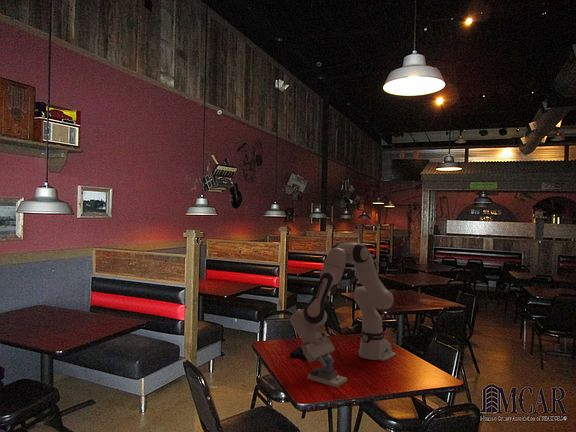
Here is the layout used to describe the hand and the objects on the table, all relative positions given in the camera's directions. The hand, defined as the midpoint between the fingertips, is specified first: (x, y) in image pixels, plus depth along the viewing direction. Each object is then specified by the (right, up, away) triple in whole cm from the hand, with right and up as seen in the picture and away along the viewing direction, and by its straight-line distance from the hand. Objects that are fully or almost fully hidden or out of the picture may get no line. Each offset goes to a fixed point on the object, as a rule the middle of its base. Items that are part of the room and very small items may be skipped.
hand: (328, 364), depth 192 cm
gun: (-9, -9, +39) cm, 41 cm away
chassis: (-1, -7, 0) cm, 7 cm away
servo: (-1, -4, 0) cm, 4 cm away
